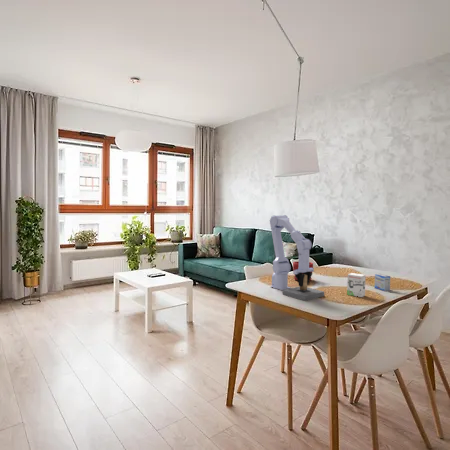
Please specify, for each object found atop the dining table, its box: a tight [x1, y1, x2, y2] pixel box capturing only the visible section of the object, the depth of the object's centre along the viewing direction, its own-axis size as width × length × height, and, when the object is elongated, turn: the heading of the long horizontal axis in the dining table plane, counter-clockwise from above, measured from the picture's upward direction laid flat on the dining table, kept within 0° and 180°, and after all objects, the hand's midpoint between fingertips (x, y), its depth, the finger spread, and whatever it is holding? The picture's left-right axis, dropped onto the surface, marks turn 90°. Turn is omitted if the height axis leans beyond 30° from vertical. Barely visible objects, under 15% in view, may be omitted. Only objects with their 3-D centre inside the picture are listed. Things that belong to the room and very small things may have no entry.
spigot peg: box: [299, 274, 308, 290], centre depth 192 cm, size 4×4×8 cm
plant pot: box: [292, 261, 314, 282], centre depth 231 cm, size 13×13×12 cm
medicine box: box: [374, 273, 391, 292], centre depth 206 cm, size 8×4×9 cm, turn 21°
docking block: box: [282, 286, 325, 302], centre depth 192 cm, size 16×16×2 cm
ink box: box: [346, 272, 366, 298], centre depth 192 cm, size 9×5×12 cm, turn 48°
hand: (303, 285), depth 192 cm, fingers closed on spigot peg, 4 cm apart
